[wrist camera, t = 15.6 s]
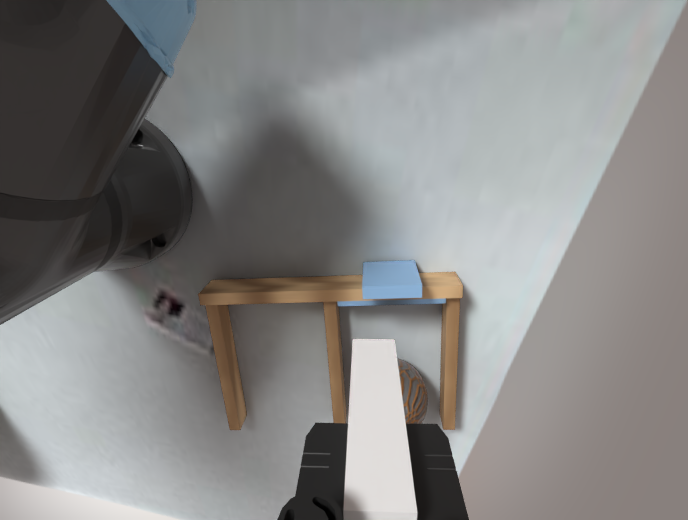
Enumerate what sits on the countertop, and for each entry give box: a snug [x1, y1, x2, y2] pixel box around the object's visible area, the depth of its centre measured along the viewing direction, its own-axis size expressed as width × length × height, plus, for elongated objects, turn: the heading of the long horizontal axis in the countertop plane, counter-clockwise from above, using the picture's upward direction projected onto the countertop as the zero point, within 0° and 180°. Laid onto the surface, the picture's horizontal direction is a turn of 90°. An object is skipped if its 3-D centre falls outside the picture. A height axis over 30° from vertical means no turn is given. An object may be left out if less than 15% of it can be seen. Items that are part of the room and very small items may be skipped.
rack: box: [198, 272, 463, 430], centre depth 41 cm, size 25×17×4 cm
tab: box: [362, 260, 422, 299], centre depth 36 cm, size 5×1×6 cm, turn 94°
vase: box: [397, 359, 428, 424], centre depth 40 cm, size 7×7×9 cm
